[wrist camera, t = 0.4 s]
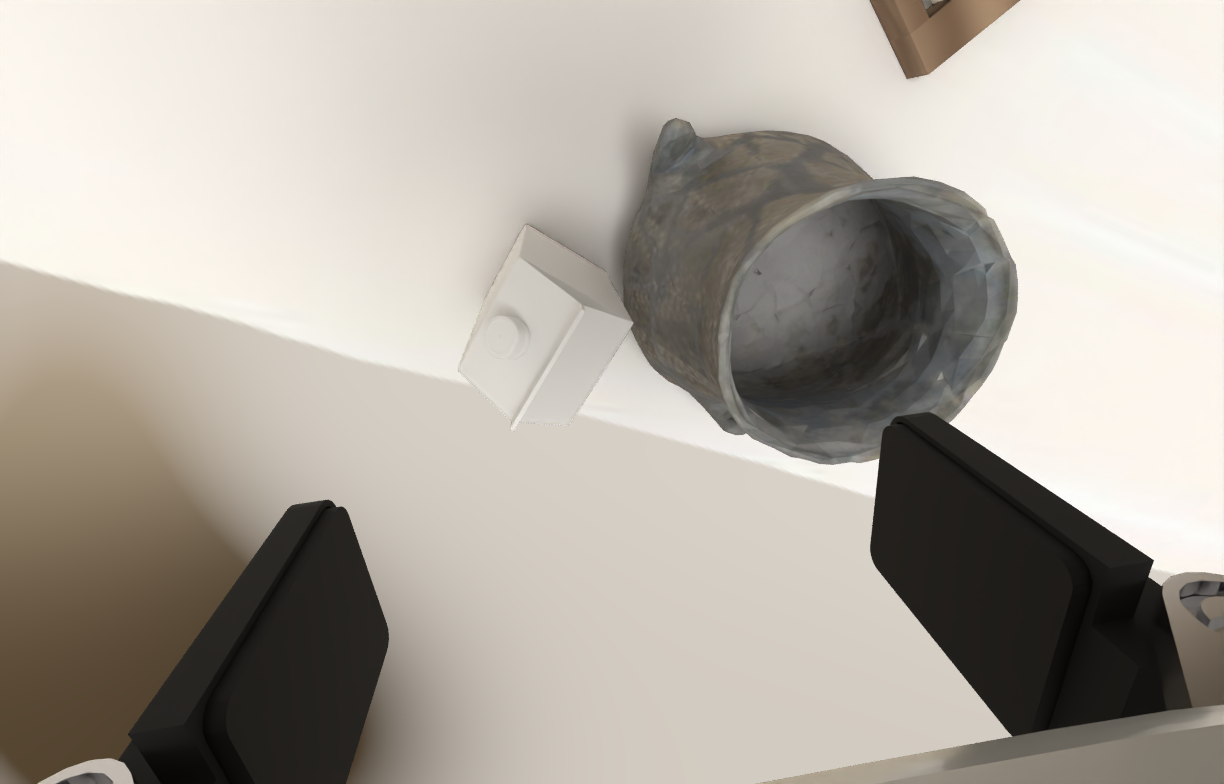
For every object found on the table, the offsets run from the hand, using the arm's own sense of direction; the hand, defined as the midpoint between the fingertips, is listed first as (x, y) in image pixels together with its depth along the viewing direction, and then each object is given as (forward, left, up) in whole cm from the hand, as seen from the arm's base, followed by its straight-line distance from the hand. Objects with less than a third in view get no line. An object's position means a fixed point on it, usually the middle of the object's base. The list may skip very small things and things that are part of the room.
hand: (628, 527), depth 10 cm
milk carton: (+2, -4, -37) cm, 37 cm away
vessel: (+11, +10, -37) cm, 40 cm away
